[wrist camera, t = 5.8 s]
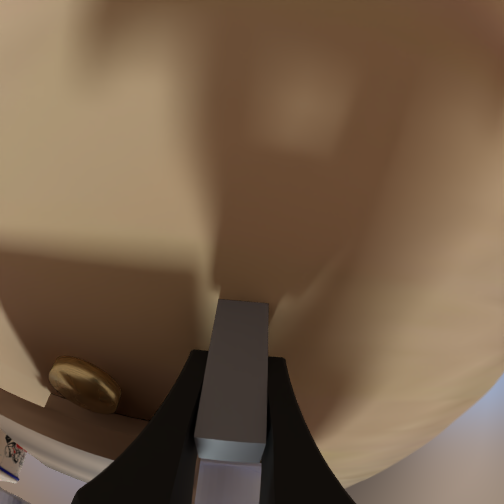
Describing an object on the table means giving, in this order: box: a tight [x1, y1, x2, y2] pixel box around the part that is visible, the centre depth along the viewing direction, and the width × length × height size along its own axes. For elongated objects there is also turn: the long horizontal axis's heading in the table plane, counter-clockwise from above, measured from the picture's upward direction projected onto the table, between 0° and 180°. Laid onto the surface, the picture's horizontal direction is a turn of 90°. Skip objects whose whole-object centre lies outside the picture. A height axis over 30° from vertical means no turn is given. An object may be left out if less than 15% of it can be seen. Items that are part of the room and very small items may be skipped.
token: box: [48, 356, 121, 414], centre depth 17 cm, size 5×5×2 cm
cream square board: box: [0, 388, 201, 504], centre depth 16 cm, size 12×14×6 cm
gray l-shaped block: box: [194, 299, 269, 463], centre depth 13 cm, size 12×2×6 cm, turn 176°
